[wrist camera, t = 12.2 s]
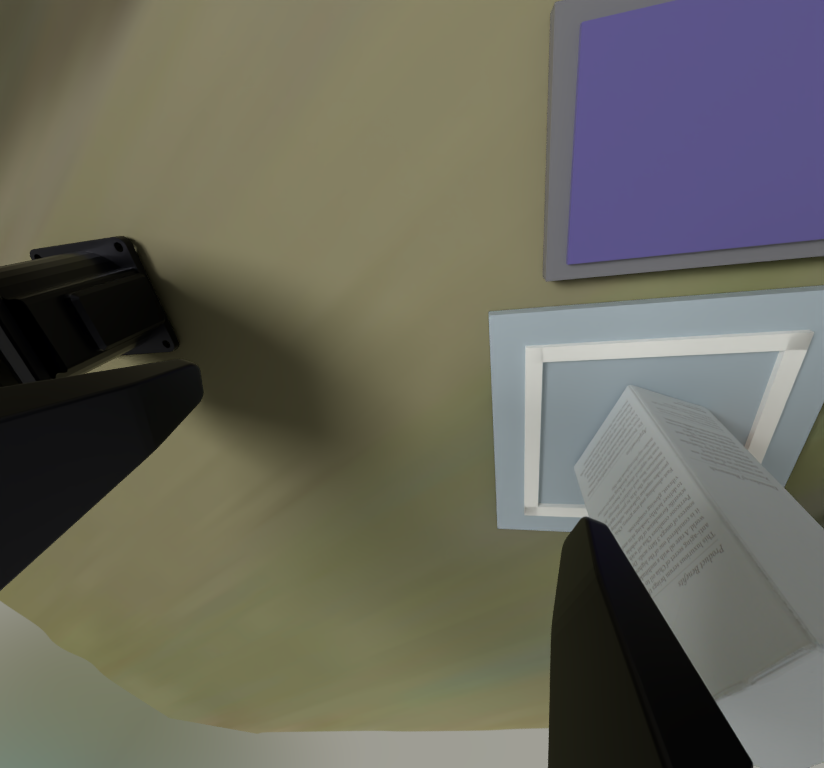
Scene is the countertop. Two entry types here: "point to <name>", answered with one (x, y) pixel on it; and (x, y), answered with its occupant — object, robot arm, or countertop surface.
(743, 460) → the skincare box
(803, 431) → the board
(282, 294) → the countertop surface
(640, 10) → the ink pad
